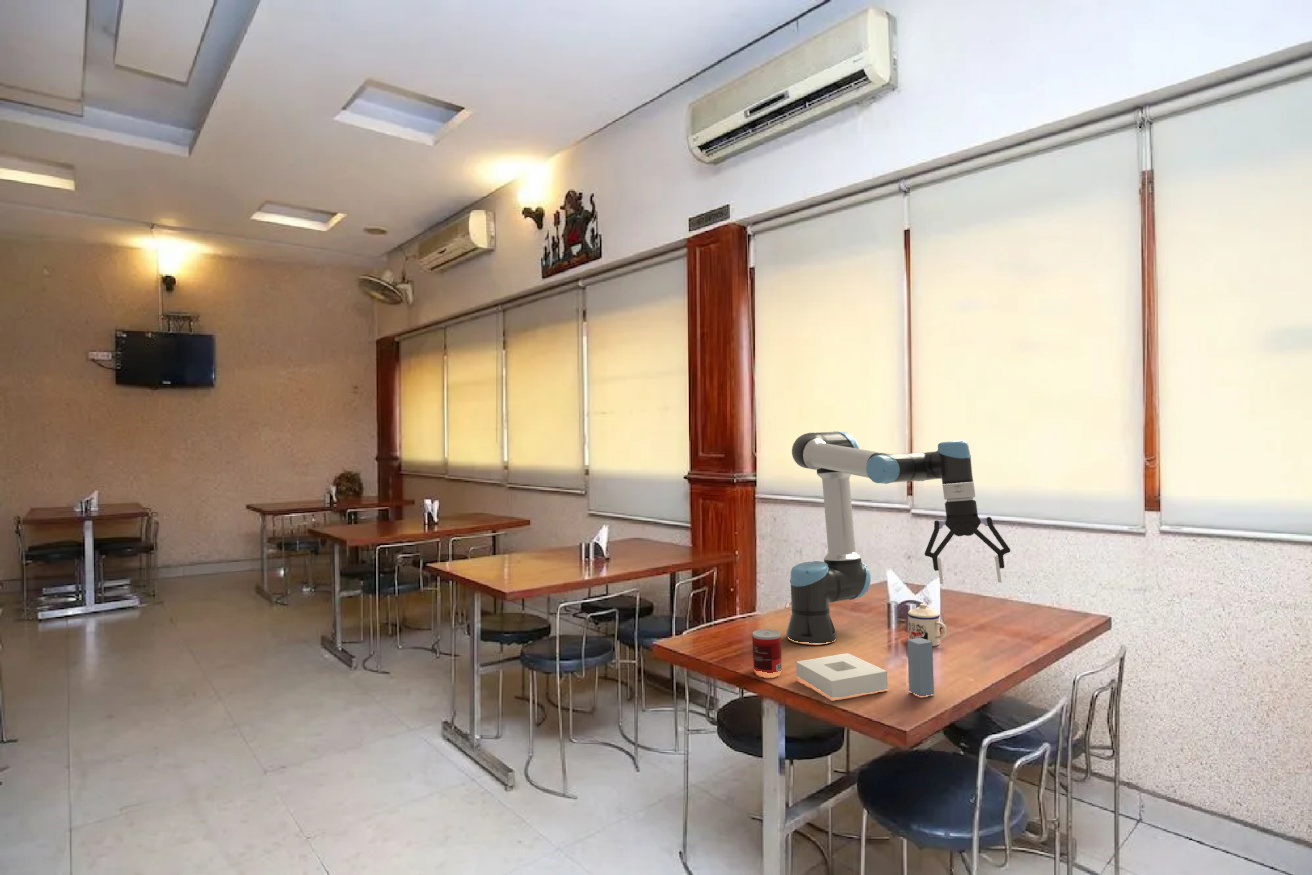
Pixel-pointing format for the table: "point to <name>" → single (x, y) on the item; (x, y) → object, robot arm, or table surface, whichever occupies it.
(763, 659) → the canned food
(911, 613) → the teacup with lid
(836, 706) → the table surface
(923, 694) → the peg
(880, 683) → the socket block
